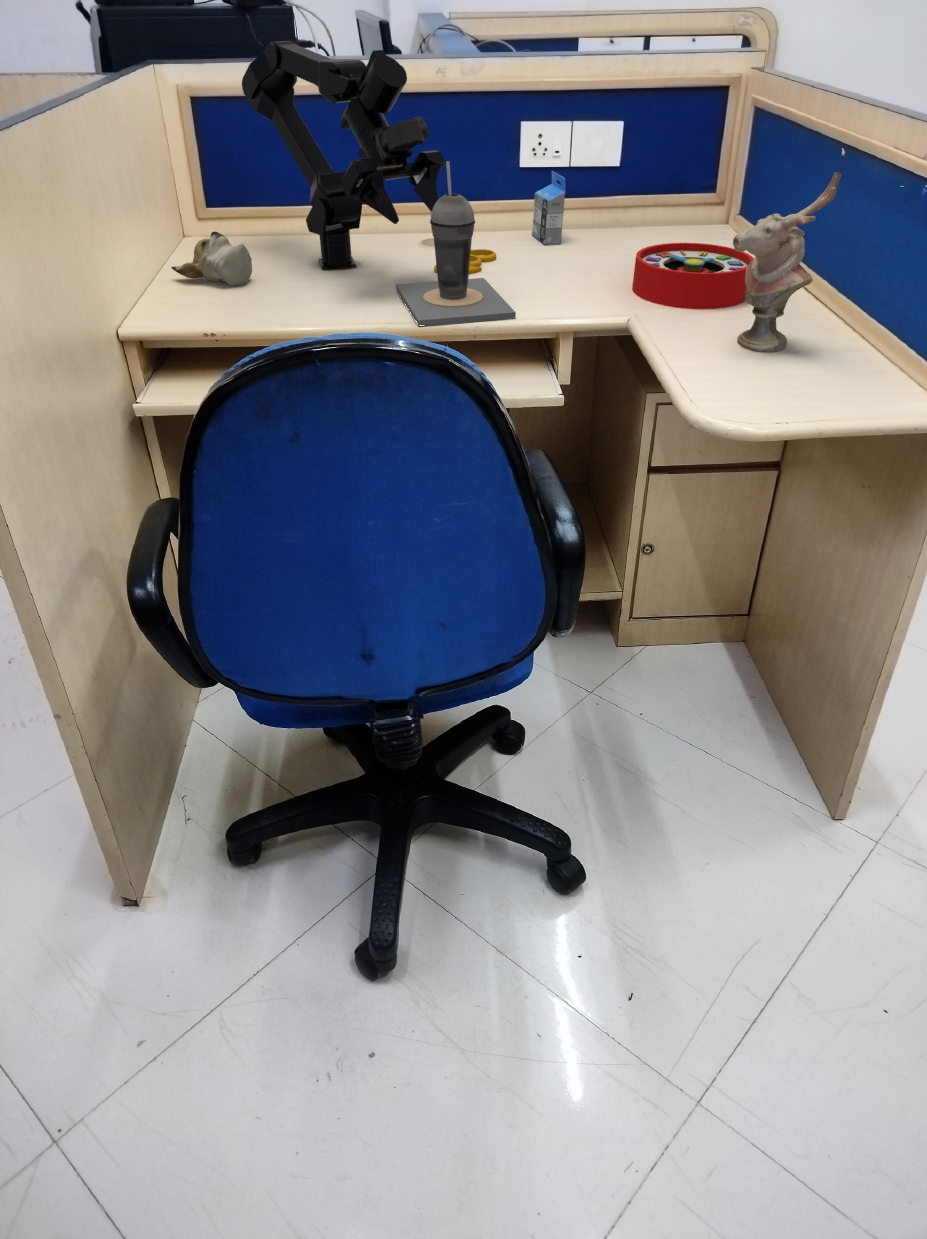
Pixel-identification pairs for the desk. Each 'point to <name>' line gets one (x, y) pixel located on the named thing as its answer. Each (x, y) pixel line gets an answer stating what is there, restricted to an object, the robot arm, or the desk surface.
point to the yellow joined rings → (478, 260)
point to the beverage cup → (452, 242)
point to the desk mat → (454, 303)
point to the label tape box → (549, 212)
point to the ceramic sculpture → (218, 261)
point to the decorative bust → (775, 270)
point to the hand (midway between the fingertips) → (418, 218)
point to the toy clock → (691, 275)
